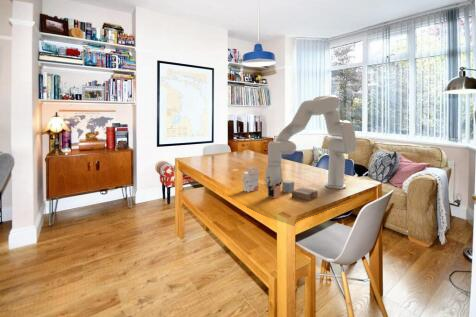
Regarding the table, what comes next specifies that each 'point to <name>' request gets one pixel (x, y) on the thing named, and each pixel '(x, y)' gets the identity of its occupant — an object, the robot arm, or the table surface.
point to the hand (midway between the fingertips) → (274, 194)
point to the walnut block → (304, 194)
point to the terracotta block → (276, 191)
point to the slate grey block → (287, 186)
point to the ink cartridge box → (250, 179)
